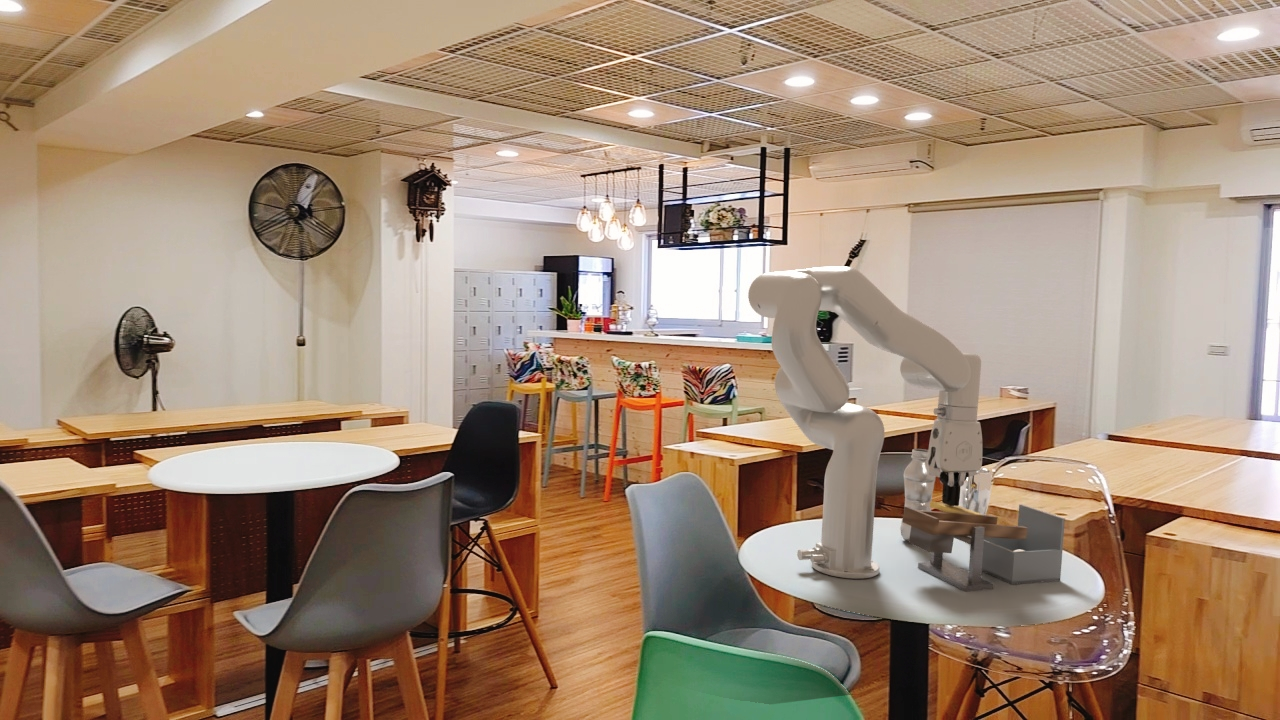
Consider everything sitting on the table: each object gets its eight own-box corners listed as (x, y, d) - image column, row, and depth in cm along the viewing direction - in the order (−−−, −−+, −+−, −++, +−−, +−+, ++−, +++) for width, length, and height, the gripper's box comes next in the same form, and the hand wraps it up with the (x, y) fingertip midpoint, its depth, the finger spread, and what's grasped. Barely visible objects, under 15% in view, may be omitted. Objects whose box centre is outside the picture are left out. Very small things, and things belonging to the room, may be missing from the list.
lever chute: (929, 554, 157) (934, 518, 157) (869, 526, 175) (874, 494, 175) (1022, 559, 164) (1028, 525, 164) (956, 532, 182) (960, 501, 182)
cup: (1011, 584, 162) (1016, 521, 161) (971, 566, 173) (975, 506, 172) (1060, 580, 166) (1064, 518, 165) (1017, 563, 176) (1021, 504, 175)
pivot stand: (965, 591, 157) (970, 530, 156) (917, 567, 170) (921, 511, 170) (993, 589, 159) (997, 528, 158) (943, 565, 172) (947, 509, 171)
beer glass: (952, 536, 194) (956, 470, 193) (956, 530, 201) (961, 465, 200) (985, 542, 191) (990, 474, 190) (989, 535, 197) (993, 469, 196)
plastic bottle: (928, 548, 185) (934, 454, 183) (896, 542, 188) (901, 450, 186) (934, 541, 190) (940, 450, 189) (903, 536, 193) (908, 446, 192)
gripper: (937, 416, 169) (930, 510, 171) (1000, 416, 174) (993, 507, 175) (914, 411, 176) (907, 501, 178) (975, 411, 181) (968, 499, 182)
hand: (950, 504), depth 176 cm, fingers closed
